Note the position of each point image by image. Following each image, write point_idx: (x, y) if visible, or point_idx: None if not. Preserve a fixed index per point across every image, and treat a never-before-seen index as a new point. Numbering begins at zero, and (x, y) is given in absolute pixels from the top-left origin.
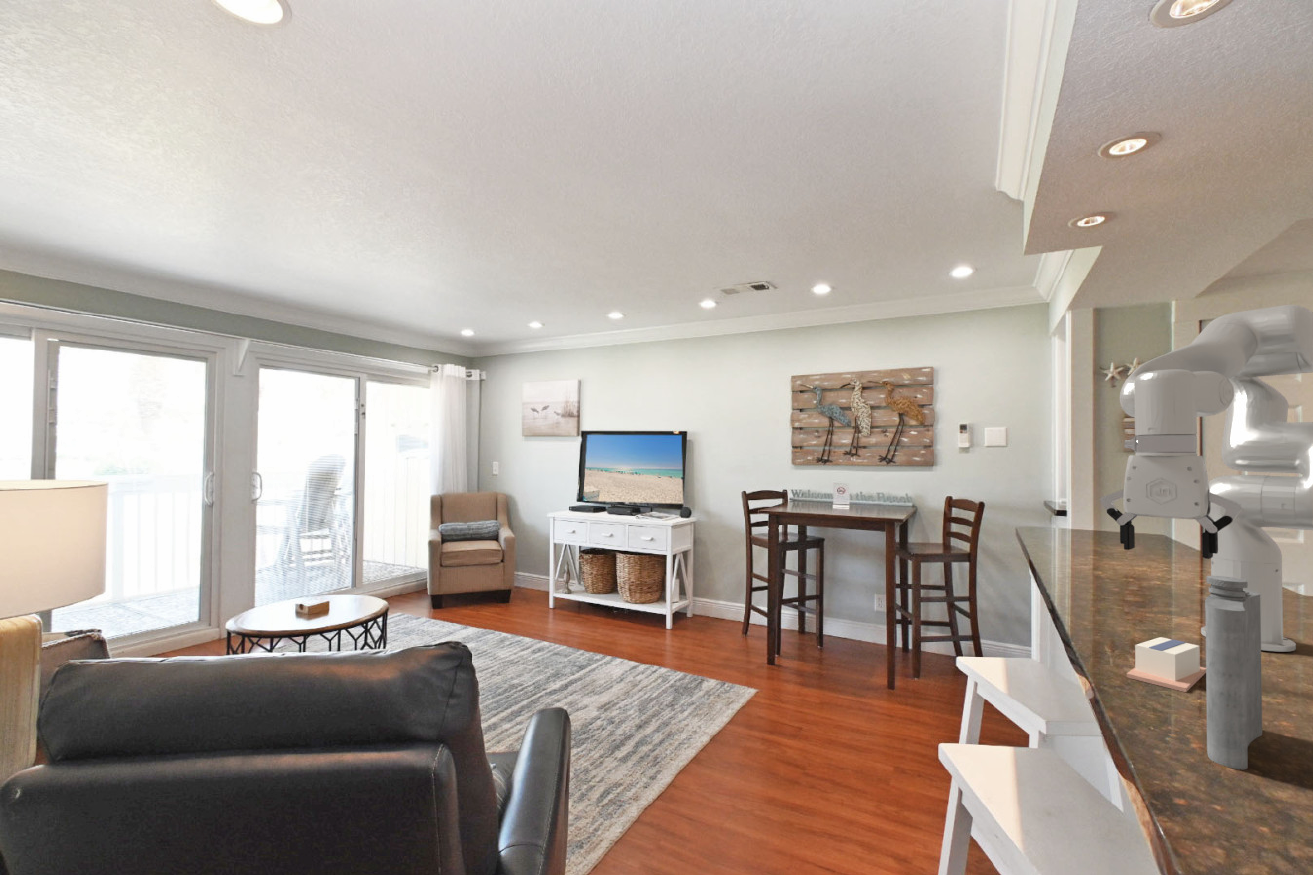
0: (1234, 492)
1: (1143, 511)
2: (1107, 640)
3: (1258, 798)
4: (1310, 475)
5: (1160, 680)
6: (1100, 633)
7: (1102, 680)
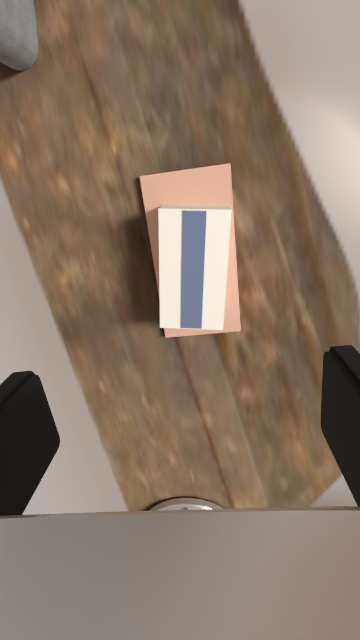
0: None
1: (325, 550)
2: None
3: None
4: None
5: (179, 180)
6: None
7: (251, 86)
